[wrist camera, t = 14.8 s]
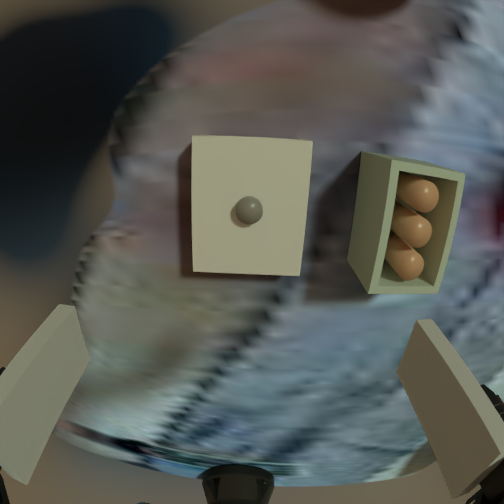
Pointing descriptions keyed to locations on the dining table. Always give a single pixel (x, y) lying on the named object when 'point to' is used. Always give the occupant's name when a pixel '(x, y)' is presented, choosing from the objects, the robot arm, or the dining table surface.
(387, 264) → the tub
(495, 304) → the dining table surface
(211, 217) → the lid
